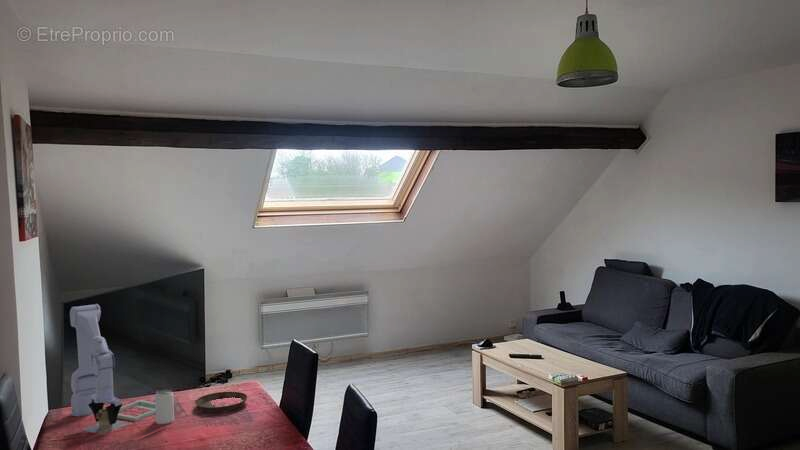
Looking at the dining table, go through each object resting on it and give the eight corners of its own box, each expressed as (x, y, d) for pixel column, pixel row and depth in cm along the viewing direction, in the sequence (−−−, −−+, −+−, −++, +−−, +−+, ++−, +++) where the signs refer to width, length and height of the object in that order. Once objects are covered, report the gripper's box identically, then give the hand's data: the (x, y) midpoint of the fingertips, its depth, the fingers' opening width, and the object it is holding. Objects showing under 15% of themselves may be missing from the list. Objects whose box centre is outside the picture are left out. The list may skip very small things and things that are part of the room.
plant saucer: (209, 397, 256) (209, 390, 256) (255, 398, 253) (255, 391, 253) (185, 414, 235) (185, 406, 235) (235, 416, 232) (235, 407, 232)
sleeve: (93, 429, 219) (92, 412, 219) (107, 423, 224) (106, 407, 224) (101, 430, 217) (101, 414, 217) (115, 425, 222) (114, 409, 222)
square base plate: (80, 431, 219) (80, 415, 218) (109, 420, 229) (108, 404, 229) (103, 436, 213) (102, 419, 213) (131, 425, 224) (130, 409, 224)
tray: (106, 417, 233) (106, 412, 233) (140, 404, 247) (139, 400, 247) (135, 423, 226) (135, 418, 226) (168, 409, 241) (168, 405, 240)
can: (167, 426, 222) (166, 394, 222) (152, 425, 224) (151, 393, 223) (177, 420, 229) (176, 389, 228) (162, 419, 230) (161, 388, 230)
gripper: (81, 386, 220) (83, 423, 221) (108, 391, 214) (110, 428, 215) (98, 381, 227) (99, 416, 227) (125, 385, 220) (126, 422, 221)
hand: (105, 422), depth 221 cm, fingers open, 7 cm apart
